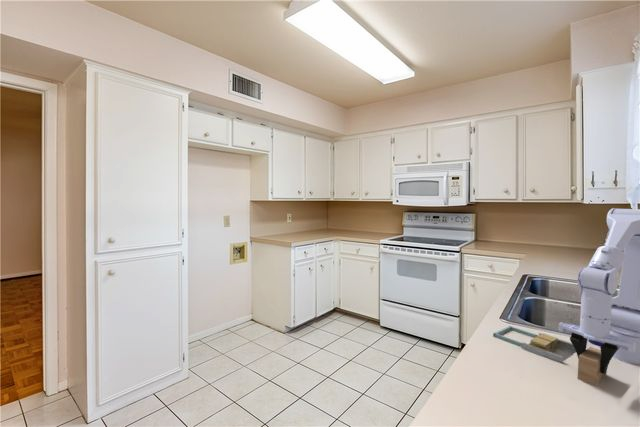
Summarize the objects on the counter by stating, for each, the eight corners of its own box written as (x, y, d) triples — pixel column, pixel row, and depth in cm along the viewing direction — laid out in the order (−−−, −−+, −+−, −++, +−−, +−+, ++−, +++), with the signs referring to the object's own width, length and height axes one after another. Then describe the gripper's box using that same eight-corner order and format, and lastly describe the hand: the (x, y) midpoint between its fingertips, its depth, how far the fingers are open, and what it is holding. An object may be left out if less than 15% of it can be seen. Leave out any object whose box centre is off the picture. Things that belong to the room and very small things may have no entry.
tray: (509, 332, 107) (509, 325, 107) (537, 342, 100) (537, 334, 100) (493, 340, 101) (493, 333, 101) (521, 351, 94) (521, 343, 94)
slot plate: (539, 342, 101) (540, 333, 101) (578, 355, 92) (578, 345, 92) (521, 352, 93) (521, 343, 93) (560, 368, 85) (561, 357, 85)
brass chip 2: (542, 341, 98) (542, 333, 98) (557, 346, 95) (557, 338, 95) (536, 344, 96) (537, 336, 96) (552, 349, 93) (552, 341, 92)
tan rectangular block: (589, 370, 82) (590, 346, 82) (606, 377, 79) (607, 352, 79) (577, 381, 78) (578, 355, 77) (595, 388, 75) (596, 361, 74)
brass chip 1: (536, 344, 96) (536, 336, 95) (551, 350, 92) (551, 341, 92) (530, 348, 93) (530, 340, 93) (545, 353, 90) (545, 345, 90)
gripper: (554, 310, 81) (552, 360, 82) (631, 329, 69) (627, 388, 70) (565, 305, 85) (562, 352, 86) (639, 322, 73) (635, 378, 74)
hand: (592, 368), depth 78 cm, fingers closed on tan rectangular block, 3 cm apart
